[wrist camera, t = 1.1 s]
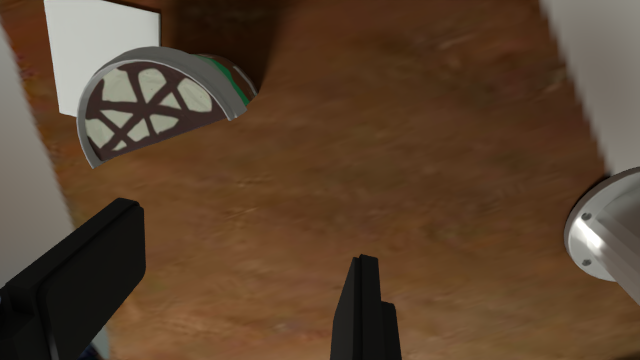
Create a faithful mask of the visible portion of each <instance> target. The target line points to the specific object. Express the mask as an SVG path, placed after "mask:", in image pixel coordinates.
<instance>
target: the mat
mask: <svg viewBox="0 0 640 360" xmlns="http://www.w3.org/2000/svg"><path fill="white" fill-rule="evenodd" d="M44 4H45V11H46V18H47V25H48V32H49V39H50V46H51V53H52V60H53V67H54V74H55V81H56V88H57V95H58V102H59V109H60V113H63V114H67V115H72V116H76V117H77V108H78V103H79V99H80V97H81V94H82V92H83V90H84V88H85V86H86V85H87V83H88V82H89V80H90V79H91V77H92V76H93V75H94V73H95V72H96V71H97V70H99V69H100V68H101V67H102V66H103V65H104V64H106V63H107V62H109V61H111V60H112V59H114V58H115V57H117V56H119V55H121V54H122V53H124V52H126V51H129V50H133V49H136V48H140V47H148V46H157V47H161V31H160V14H158V13H154V12H150V11H146V10H141V9H137V8H133V7H129V6H125V5H120V4H116V3H112V2H108V1H103V0H44Z"/></svg>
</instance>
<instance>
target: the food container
mask: <svg viewBox="0 0 640 360" xmlns="http://www.w3.org/2000/svg"><path fill="white" fill-rule="evenodd" d="M257 94H258V91H257V89H256V87H255V85H254V83H253V81H252V80H251V79H250V78H249V77H248V76H247V74H246V73H245V72H244V71H243V70H242V69H241V68H240V67H239V66H237V65H236V64H234V63H233V62H231V61H229V60H228V59H226V58H224V57H221V56H217V55H213V54H209V53H204V54H188V53H185V52H183V51H180V50H176V49H172V48H168V47H157V46H148V47H140V48H136V49H133V50H129V51H126V52H124V53H122V54H121V55H119V56H117V57H115V58H114V59H112V60H111V61H109V62H107V63H106V64H104V65H103V66H102V67H101V68H100V69H99V70H97V71H96V72H95V73H94V75H93V76H92V77H91V79H90V80H89V82H88V83H87V85H86V86H85V88H84V90H83V92H82V94H81V97H80V99H79V103H78V108H77V130H78V136H79V139H80V143H81V146H82V149H83V151H84V153H85V156H86V158H87V160H88V162H89V163H90V165H91V167H92V168H93V169H94V168H96V167H97V166H99V165H101V164H103V163H104V162H106V161H108V160H110V159H112V158H114V157H116V156H119V155H122V154H125V153H128V152H131V151H134V150H137V149H139V148H142V147H145V146H148V145H152V144H155V143H158V142H161V141H163V140H166V139H169V138H171V137H174V136H177V135H180V134H182V133H185V132H188V131H191V130H194V129H197V128H200V127H202V126H205V125H208V124H211V123H214V122H217V121H219V120H222V119H225V118H228V120H229V121H231V120H232V119H234V118H236V117H238V116H239V115H241V114H242V113H244V112H245V111H247V109H246V107H245V106H246V105H247V104H248V103H249V102H250V101H251V100H252V99H253V98H254V97H255V96H256V95H257Z"/></svg>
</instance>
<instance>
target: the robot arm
mask: <svg viewBox="0 0 640 360" xmlns="http://www.w3.org/2000/svg"><path fill="white" fill-rule="evenodd" d="M564 243H565V246H566V250H567V252H568V254H569V255H570V257H571V258H572V260H573V261H574V262H575V263H576V264H577V265H578V266H579V267H580V268H581V269H582V270H584V271H585V272H587V273H588V274H590V275H592V276H595V277H597V278H600V279H604V280H608V281H617V282H618V284H619V285H620V286H621V287H622V288H623V289H624V290H625V291H626V292H627V293H628V294H629V295H630V296H631V297H632V298H633V299H634V300H635V301H636V302H637V303H638V304H639V305H640V167H636V168H632V169H628V170H626V171H623V172H621V173H618V174H616V175H613V176H612V177H610V178H608V179H606V180H604V181H603V182H601V183H599V184H598V185H597V186H595V187H594V188H593V189H591V190H590V191H589V192H588V193H587V194H586V195H585V196H584V197H583V198H582V199H581V200H580V201H579V202H578V203H577V204H576V206H575V207H574V209H573V210H572V211H571V213H570V215H569V218H568V220H567V222H566V226H565V230H564ZM145 270H146V260H145V230H144V209H143V208H142V207H140V204H139V203H138V202H137V201H133V200H129V199H125V198H117V199H115V200H114V201H113V202H112V203H110V204H109V205H108V206H106V207H105V208H104V209H102V210H101V211H100V212H98V213H97V214H96V215H95V216H93V217H92V218H91V219H89V220H88V221H87V222H85V223H84V224H83V225H81V226H80V227H79V228H78V229H76V230H75V231H74V232H72V233H71V234H70V235H69V236H67V237H66V238H65V239H63V240H62V241H61V242H59V243H58V244H57V245H55V246H54V247H53V248H51V249H50V250H49V251H48V252H46V253H45V254H44V255H42V256H41V257H40V258H38V259H37V260H36V261H34V262H33V263H32V264H31V265H29V266H28V267H27V268H25V269H24V270H23V271H21V272H20V273H19V274H17V275H16V276H15V277H14V278H12V279H11V280H10V281H8V282H7V283H6V284H5V286H4V287H2V288H1V289H0V360H76V359H77V358H78V357H79V356H80V354H81V353H82V352H83V351H84V350H85V348H86V347H87V346H88V345H89V343H90V342H91V341H92V340H93V338H94V337H95V336H96V335H97V333H98V332H99V331H100V330H101V329H102V327H103V326H104V325H105V324H106V323H107V321H108V320H109V319H110V318H111V316H112V315H113V314H114V313H115V312H116V310H117V309H118V308H119V307H120V305H121V304H122V303H123V302H124V300H125V299H126V298H127V297H128V296H129V294H130V293H131V292H132V291H133V289H134V288H135V287H136V286H137V285H138V283H139V282H140V281H141V280H142V278H143V276H144V274H145ZM330 360H402V357H401V349H400V341H399V333H398V325H397V317H396V309H395V306H394V304H392V303H388V302H383V301H381V293H380V280H379V267H378V259H377V258H376V257H371V256H367V255H363V254H361V255H360V256H359V258H356V257H353V260H352V263H351V266H350V269H349V272H348V275H347V278H346V281H345V284H344V287H343V290H342V293H341V296H340V300H339V303H338V306H337V309H336V312H335V316H334V320H333V330H332V342H331V354H330Z"/></svg>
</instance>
